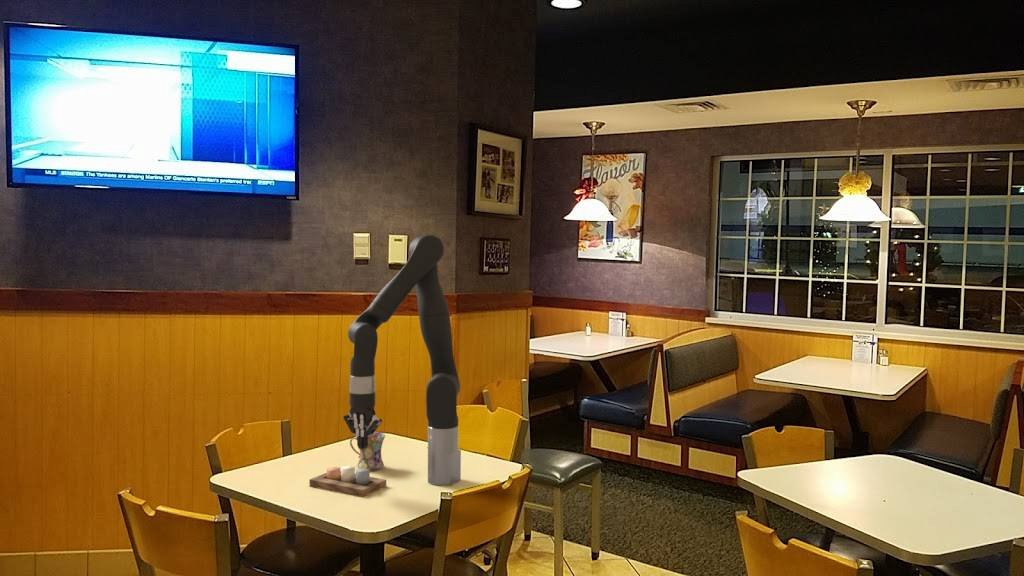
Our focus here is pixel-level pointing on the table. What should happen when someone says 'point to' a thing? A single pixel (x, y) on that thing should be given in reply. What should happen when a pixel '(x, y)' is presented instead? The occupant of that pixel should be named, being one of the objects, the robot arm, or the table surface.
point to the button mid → (347, 474)
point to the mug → (371, 452)
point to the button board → (347, 485)
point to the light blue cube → (362, 477)
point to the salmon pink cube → (333, 473)
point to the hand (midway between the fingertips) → (362, 448)
